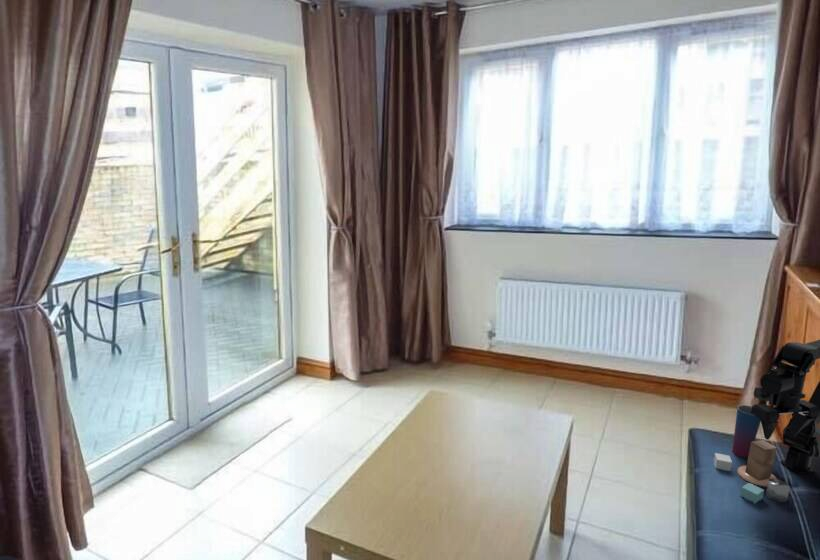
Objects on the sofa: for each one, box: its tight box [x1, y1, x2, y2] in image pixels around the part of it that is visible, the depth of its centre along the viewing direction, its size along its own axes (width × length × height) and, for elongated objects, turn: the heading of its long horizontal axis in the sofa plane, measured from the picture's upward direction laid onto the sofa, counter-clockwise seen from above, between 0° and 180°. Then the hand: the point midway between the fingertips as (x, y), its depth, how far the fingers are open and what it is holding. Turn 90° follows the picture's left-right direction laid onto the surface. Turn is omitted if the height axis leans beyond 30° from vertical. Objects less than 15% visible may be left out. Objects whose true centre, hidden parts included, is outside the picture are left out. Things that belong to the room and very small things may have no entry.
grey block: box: [713, 452, 733, 472], centre depth 170 cm, size 4×4×3 cm
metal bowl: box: [765, 478, 791, 503], centre depth 155 cm, size 5×5×4 cm
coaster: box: [737, 465, 778, 488], centre depth 165 cm, size 10×10×1 cm
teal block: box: [739, 482, 765, 504], centre depth 155 cm, size 4×4×3 cm
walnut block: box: [745, 439, 777, 481], centre depth 164 cm, size 4×4×10 cm
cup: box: [732, 404, 761, 458], centre depth 176 cm, size 7×7×15 cm
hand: (779, 437), depth 162 cm, fingers open, 9 cm apart
